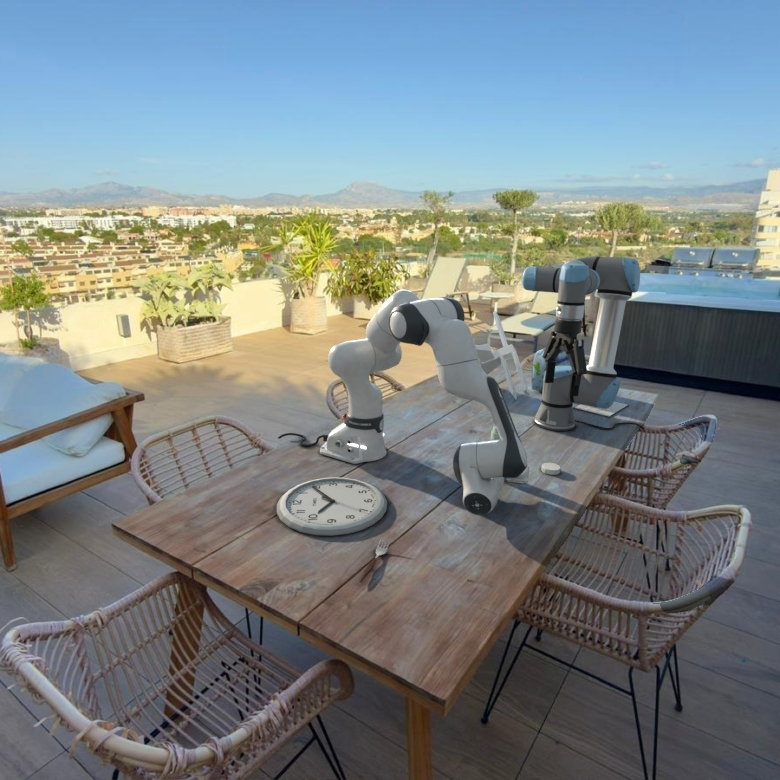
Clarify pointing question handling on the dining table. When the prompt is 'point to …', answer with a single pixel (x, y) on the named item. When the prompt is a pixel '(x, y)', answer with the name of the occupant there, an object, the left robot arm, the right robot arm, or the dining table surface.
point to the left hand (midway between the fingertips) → (496, 458)
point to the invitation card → (606, 412)
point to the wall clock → (331, 506)
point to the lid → (550, 468)
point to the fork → (379, 552)
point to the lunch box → (540, 367)
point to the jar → (494, 434)
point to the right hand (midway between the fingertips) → (560, 389)
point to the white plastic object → (501, 359)
